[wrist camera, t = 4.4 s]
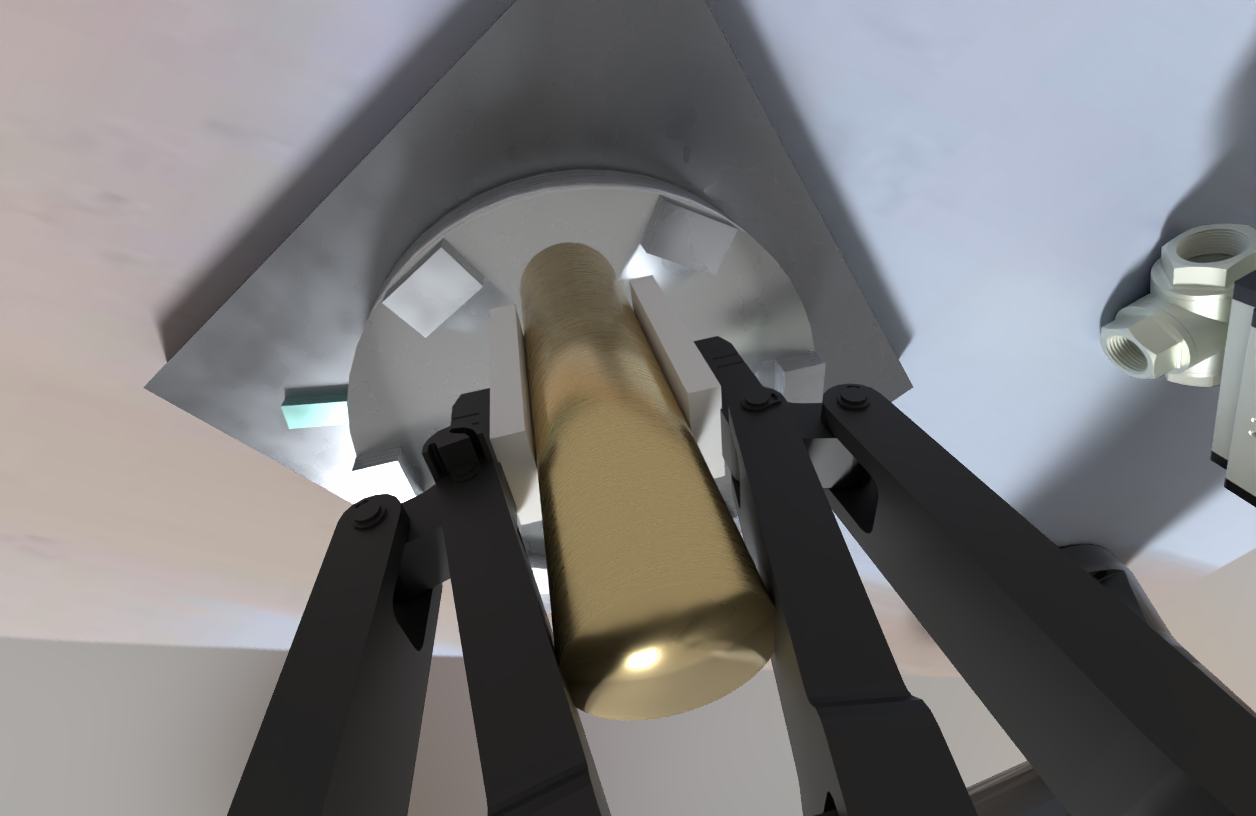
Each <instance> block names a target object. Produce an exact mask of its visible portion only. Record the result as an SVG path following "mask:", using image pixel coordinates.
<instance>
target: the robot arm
mask: <svg viewBox="0 0 1256 816" xmlns="http://www.w3.org/2000/svg"><path fill="white" fill-rule="evenodd" d="M629 284H630V291H631V298H632V305H633V311H634V313H635V315H636V317H637V319H638V321H639V324H640V326H641V328H642V330H643V332H644V334H645V336H646V338H647V340H648V342H649V344H650V347H651V349H652V351H653V353H654V355H655V357H656V359H657V361H658V363H659V365H660V367H661V370H662V372H663V374H664V376H665V378H666V380H667V382H668V384H669V386H670V388H671V390H672V392H673V395H674V397H675V399H676V401H677V403H678V405H679V407H680V409H681V411H682V413H683V415H684V418H685V420H686V422H687V424H688V426H689V428H690V430H691V432H692V434H693V436H694V438H695V440H696V443H697V445H698V447H699V449H700V451H701V453H702V455H703V457H704V459H705V461H706V463H707V466H708V468H709V470H710V472H711V474H712V476H713V478H718V477H722V476H725V466H724V460H725V462H726V464H727V466H728V468H729V470H730V472H731V491H732V509H737V514H738V518H739V522H740V527H741V531H742V535H743V540H744V543H745V545H746V547H747V549H748V551H749V553H750V555H751V557H752V559H753V562H754V564H755V566H756V568H757V570H758V572H759V574H760V576H761V578H762V580H763V582H764V585H765V587H766V589H767V591H768V593H769V595H770V597H771V599H772V601H773V604H774V606H775V609H776V617H775V645H774V653H773V655H772V656H771V661H772V666H773V670H774V674H775V679H776V683H777V687H778V691H779V696H780V700H781V705H782V709H783V713H784V718H785V722H786V726H787V730H788V735H789V739H790V744H791V747H792V752H793V757H794V761H795V765H796V769H797V774H798V780H799V786H800V794H801V802H802V810H803V816H1256V713H1255V712H1254V711H1253V710H1252V709H1251V708H1250V707H1249V706H1248V705H1246V704H1245V703H1244V702H1243V701H1242V700H1241V699H1240V698H1239V697H1238V696H1236V695H1235V694H1234V693H1233V692H1232V691H1231V690H1230V689H1229V688H1228V687H1227V686H1225V685H1224V684H1223V683H1222V682H1221V681H1220V680H1219V679H1218V678H1217V677H1216V676H1214V675H1213V674H1212V673H1211V672H1210V671H1209V670H1208V669H1207V668H1206V667H1204V666H1203V665H1202V664H1201V663H1200V662H1199V661H1198V660H1196V659H1195V658H1194V657H1193V656H1192V655H1191V654H1190V653H1189V652H1188V651H1187V650H1185V649H1184V648H1183V647H1182V646H1181V645H1180V644H1179V643H1178V642H1177V641H1176V640H1175V639H1174V637H1173V636H1172V635H1171V633H1170V632H1169V630H1168V629H1167V627H1166V625H1165V624H1164V622H1163V621H1162V619H1161V618H1160V616H1159V614H1158V613H1157V611H1156V610H1155V608H1154V606H1153V605H1152V603H1151V602H1150V600H1149V598H1148V597H1147V595H1146V594H1145V592H1144V590H1143V589H1142V587H1141V586H1140V584H1139V582H1138V581H1137V579H1136V578H1135V576H1134V575H1133V573H1132V572H1131V571H1130V570H1129V568H1128V567H1127V566H1125V565H1124V564H1123V563H1122V562H1121V561H1120V560H1119V559H1117V558H1116V557H1115V556H1114V555H1113V554H1112V553H1111V552H1109V551H1108V550H1107V549H1105V548H1103V547H1100V546H1096V545H1076V546H1070V547H1065V548H1061V549H1060V548H1059V547H1057V546H1056V545H1055V544H1054V543H1053V542H1052V541H1050V540H1049V539H1048V538H1047V537H1046V536H1045V535H1044V534H1042V533H1041V532H1040V531H1039V530H1038V529H1037V528H1035V527H1034V526H1033V525H1032V524H1031V523H1030V522H1029V521H1027V520H1026V519H1025V518H1024V517H1023V516H1022V515H1020V514H1019V513H1018V512H1017V511H1016V510H1015V509H1013V508H1012V507H1011V506H1010V505H1009V504H1008V503H1007V502H1005V501H1004V500H1003V499H1002V498H1001V497H1000V496H998V495H997V494H996V493H995V492H994V491H993V490H992V489H990V488H989V487H988V486H987V485H986V484H985V483H983V482H982V481H981V480H980V479H979V478H978V477H977V476H975V475H974V474H973V473H972V472H971V471H970V470H968V469H967V468H966V467H965V466H964V465H963V464H961V463H960V462H959V461H958V460H957V459H956V458H955V457H953V456H952V455H951V454H950V453H949V452H948V451H946V450H945V449H944V448H943V447H942V446H941V445H940V444H938V443H937V442H936V441H935V440H934V439H933V438H931V437H930V436H929V435H928V434H927V433H926V432H925V431H923V430H922V429H921V428H920V427H919V426H918V425H916V424H915V423H914V422H913V421H912V420H911V419H909V418H908V417H907V416H906V415H905V414H904V413H903V412H901V411H900V410H899V409H898V408H897V407H896V406H894V405H893V404H892V403H891V402H890V401H889V400H888V399H886V398H885V397H884V396H883V395H882V394H881V393H879V392H878V391H876V390H874V389H873V388H871V387H867V386H864V385H861V384H849V383H848V384H841V385H836V386H834V387H832V388H829V389H828V390H827V391H826V392H825V393H824V394H823V399H822V403H791V402H787V401H786V399H785V398H784V396H783V395H782V394H781V393H780V392H778V391H776V390H774V389H771V388H767V387H763V386H762V384H761V383H760V382H759V380H758V379H757V378H756V376H755V375H754V373H753V372H752V371H751V369H750V368H749V367H748V365H747V364H746V363H744V360H743V358H742V357H741V356H740V355H739V354H738V352H737V350H736V349H735V348H734V346H733V345H732V343H730V342H728V341H727V340H725V339H723V338H721V337H719V336H715V337H710V338H706V339H701V340H697V341H693V340H692V338H691V337H690V335H689V333H688V332H687V330H686V329H685V327H684V325H683V324H682V322H681V321H680V319H679V317H678V316H677V314H676V312H675V311H674V309H673V308H672V306H671V304H670V303H669V301H668V299H667V298H666V296H665V295H664V293H663V291H662V290H661V288H660V287H659V285H658V283H657V282H656V280H655V278H654V277H653V275H650V276H645V277H641V278H636V279H631V280H629ZM451 420H452V421H451V424H450V426H449V427H446V428H444V429H442V430H440V431H438V432H436V433H435V434H434V435H432V436H431V437H430V438H429V439H428V440H427V441H426V443H425V444H424V445H423V449H422V455H423V458H424V460H425V462H426V464H427V466H428V468H429V470H430V472H431V475H432V477H433V479H434V481H435V484H434V485H433V486H432V487H430V488H429V489H428V490H426V491H424V492H423V493H421V494H419V495H417V496H415V497H413V498H411V499H408V500H406V501H404V502H402V503H401V502H400V500H399V499H398V498H397V497H396V496H394V495H391V494H388V493H387V494H375V495H372V496H369V497H366V498H364V499H362V500H360V501H358V502H357V503H355V504H353V505H352V506H351V507H350V508H349V509H348V510H346V511H345V512H344V513H343V515H342V516H341V518H340V520H339V521H338V523H337V526H336V529H335V531H334V534H333V536H332V539H331V542H330V544H329V547H328V550H327V552H326V555H325V558H324V560H323V563H322V566H321V568H320V571H319V574H318V576H317V579H316V581H315V584H314V587H313V589H312V592H311V595H310V597H309V600H308V603H307V605H306V608H305V611H304V613H303V616H302V618H301V621H300V624H299V626H298V629H297V632H296V634H295V637H294V640H293V642H292V645H291V648H290V650H289V653H288V656H287V658H286V661H285V664H284V666H283V669H282V672H281V674H280V677H279V679H278V682H277V685H276V688H275V690H274V693H273V695H272V698H271V700H270V703H269V706H268V708H267V711H266V714H265V716H264V719H263V722H262V724H261V727H260V730H259V732H258V735H257V738H256V740H255V743H254V746H253V748H252V751H251V754H250V756H249V759H248V762H247V764H246V767H245V770H244V772H243V775H242V777H241V780H240V782H239V785H238V788H237V791H236V793H235V796H234V798H233V801H232V804H231V806H230V809H229V812H228V814H227V816H407V814H408V806H409V801H410V794H411V788H412V781H413V775H414V768H415V761H416V755H417V749H418V742H419V736H420V729H421V723H422V716H423V710H424V703H425V697H426V691H427V684H428V677H429V671H430V665H431V658H432V652H433V645H434V639H435V632H436V626H437V619H438V613H439V606H440V600H441V593H442V582H444V581H446V580H448V579H450V578H451V583H452V590H453V596H454V602H455V608H456V614H457V620H458V626H459V633H460V639H461V645H462V651H463V657H464V663H465V669H466V675H467V681H468V687H469V694H470V700H471V706H472V712H473V718H474V724H475V730H476V737H477V743H478V749H479V755H480V761H481V767H482V773H483V780H484V786H485V792H486V798H487V806H488V816H611V814H610V810H609V807H608V804H607V801H606V798H605V795H604V792H603V789H602V786H601V782H600V779H599V776H598V773H597V770H596V767H595V764H594V760H593V757H592V754H591V751H590V748H589V745H588V742H587V739H586V735H585V732H584V729H583V726H582V723H581V720H580V717H579V714H578V711H577V707H575V705H574V703H573V700H572V698H571V695H570V693H569V690H568V688H567V685H566V683H565V680H564V677H563V675H562V672H561V670H560V667H559V664H558V661H557V657H556V653H555V646H554V636H553V632H552V629H551V626H550V623H549V620H548V617H547V614H546V610H545V607H544V604H543V601H542V598H541V595H540V592H539V589H538V585H537V582H536V579H535V576H534V573H533V570H532V567H531V564H530V560H529V557H528V554H527V551H526V548H525V545H524V542H523V539H522V536H521V533H520V531H519V528H518V525H517V515H518V517H519V520H520V523H521V525H524V524H529V523H533V522H537V521H541V520H542V514H541V503H540V493H539V483H538V473H537V463H536V453H535V442H534V432H533V422H532V412H531V402H530V392H529V381H528V371H527V361H526V351H525V341H524V335H523V331H522V327H521V324H520V320H519V317H518V313H517V310H516V306H515V304H513V305H508V306H503V307H498V308H494V309H491V315H490V388H487V389H482V390H478V391H473V392H469V393H464V394H461V395H460V396H459V398H458V399H457V401H456V402H455V404H454V405H453V406H452V414H451ZM832 510H833V511H834V513H835V514H836V515H837V517H838V518H839V519H840V520H841V522H842V523H843V524H844V525H845V527H846V528H847V529H848V531H849V532H850V533H851V534H852V536H853V537H854V538H855V540H856V541H857V542H858V543H859V545H860V546H861V547H862V549H863V550H864V551H865V552H866V554H867V555H868V556H869V558H870V559H871V560H872V561H873V563H874V564H875V565H876V567H877V568H878V569H879V570H880V572H881V573H882V574H883V576H884V577H885V578H886V579H887V581H888V582H889V583H890V584H891V586H892V587H893V588H894V590H895V591H896V592H897V593H898V595H899V596H900V597H901V599H902V600H903V601H904V602H905V604H906V605H907V606H908V608H909V609H910V610H911V611H912V613H913V614H914V615H915V617H916V618H917V619H918V620H919V622H920V623H921V624H922V626H923V627H924V628H925V629H926V631H927V632H928V633H929V635H930V636H931V637H932V638H933V640H934V641H935V642H936V643H937V645H938V646H939V647H940V649H941V650H942V651H943V652H944V654H945V655H946V656H947V658H948V659H949V660H950V661H951V663H952V664H953V665H954V667H955V668H956V669H957V670H958V672H959V673H960V674H961V676H962V677H963V678H964V679H965V681H966V682H967V683H968V684H969V686H970V687H971V688H972V690H973V691H974V692H975V694H976V695H977V696H978V697H979V699H980V700H981V701H982V702H983V704H984V705H985V706H986V707H987V709H988V710H989V711H990V713H991V714H992V715H993V716H994V718H995V719H996V720H997V722H998V723H999V724H1000V726H1001V727H1002V728H1003V729H1004V730H1005V732H1006V733H1007V735H1008V736H1009V737H1010V738H1011V740H1012V741H1013V742H1014V744H1015V745H1016V746H1017V747H1018V749H1019V750H1020V751H1021V752H1022V754H1023V755H1024V756H1025V757H1026V759H1027V760H1028V761H1026V762H1023V763H1021V764H1019V765H1017V766H1014V767H1012V768H1010V769H1008V770H1005V771H1003V772H1001V773H999V774H997V775H994V776H992V777H990V778H988V779H985V780H983V781H981V782H979V783H976V784H974V785H972V786H970V787H968V788H966V787H965V784H964V782H963V780H962V778H961V776H960V773H959V771H958V769H957V766H956V764H955V762H954V759H953V757H952V755H951V753H950V750H949V748H948V746H947V743H946V741H945V739H944V737H943V734H942V732H941V730H940V728H939V726H938V723H937V722H936V720H935V718H934V716H933V714H932V712H931V710H930V709H929V708H928V706H927V705H926V704H925V703H924V701H923V700H922V699H919V698H917V697H914V696H912V695H911V694H910V692H909V691H908V690H907V688H906V686H905V684H904V682H903V680H902V677H901V675H900V672H899V670H898V668H897V665H896V663H895V660H894V658H893V656H892V653H891V651H890V648H889V646H888V644H887V641H886V639H885V636H884V634H883V632H882V629H881V627H880V624H879V622H878V620H877V617H876V615H875V612H874V610H873V608H872V605H871V603H870V600H869V598H868V596H867V593H866V591H865V588H864V586H863V584H862V581H861V579H860V576H859V574H858V571H857V569H856V567H855V564H854V562H853V559H852V557H851V555H850V552H849V550H848V547H847V545H846V543H845V540H844V538H843V535H842V533H841V531H840V528H839V526H838V523H837V521H836V519H835V516H834V514H833V511H832Z"/></svg>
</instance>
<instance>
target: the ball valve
mask: <svg viewBox="0 0 1256 816" xmlns="http://www.w3.org/2000/svg"><path fill="white" fill-rule="evenodd" d="M1100 343H1101V347H1102V349H1103V351H1104V353H1105V355H1106V356H1107V357H1108V359H1109V360H1110V361H1111V362H1112V363H1113V364H1114V365H1115V366H1116V367H1117V368H1118V369H1120V370H1121V371H1122V372H1124V373H1126V374H1127V375H1129V376H1131V377H1134V378H1139V379H1157V378H1159V377H1161V376H1162V375H1165V377H1166V379H1167V380H1168V381H1171V382H1174V383H1179V384H1184V385H1190V386H1199V387H1214V386H1216V385H1219V384H1220V391H1219V399H1218V406H1217V413H1216V421H1215V428H1214V435H1213V443H1212V450H1211V457H1210V459H1211V460H1212V461H1213V462H1215V463H1216V464H1218V465H1220V466H1221V467H1223V468H1225V469H1226V470H1227V471H1226V477H1225V482H1224V487H1225V488H1226V489H1228V490H1230V491H1231V492H1233V493H1234V494H1236V495H1237V496H1239V497H1240V498H1242V499H1244V500H1245V501H1247V502H1248V503H1250V504H1251V505H1253V506H1254V507H1256V230H1255V229H1254V228H1253V227H1251V226H1250V225H1243V224H1210V225H1203V226H1198V227H1195V228H1192V229H1190V230H1188V231H1185V232H1183V233H1182V234H1180V235H1178V236H1176V237H1175V238H1173V239H1172V240H1170V241H1169V242H1168V243H1166V244H1165V245H1164V246H1162V249H1161V257H1160V258H1159V259H1158V260H1157V261H1156V262H1155V263H1154V265H1153V267H1152V269H1151V288H1150V293H1149V294H1147V295H1146V296H1144V297H1142V298H1140V299H1139V300H1137V301H1135V302H1133V303H1131V304H1130V305H1128V306H1126V307H1124V308H1123V309H1121V310H1120V311H1119V312H1118V313H1117V315H1116V317H1115V320H1114V321H1112V322H1110V323H1109V324H1107V325H1105V326H1103V327H1102V330H1101V334H1100Z"/></svg>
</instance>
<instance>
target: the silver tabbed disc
mask: <svg viewBox="0 0 1256 816" xmlns="http://www.w3.org/2000/svg"><path fill="white" fill-rule="evenodd" d="M650 275H653V277H654V278H655V280H656V282H657V283H658V285H659V287H660V288H661V290H662V291H663V293H664V295H665V296H666V298H667V299H668V301H669V303H670V304H671V306H672V308H673V309H674V311H675V312H676V314H677V316H678V317H679V319H680V321H681V322H682V324H683V325H684V327H685V329H686V330H687V332H688V333H689V335H690V337H691V338H692V340H693V341H697V340H701V339H706V338H710V337H715V336H719V337H721V338H723V339H725V340H727V341H728V342H730V343H732V345H733V346H734V348H735V349H736V350H737V352H738V354H739V355H740V356H741V357H742V358H743V360H744V363H746V364H747V365H748V367H749V368H750V369H751V371H752V372H753V373H754V375H755V376H756V378H757V379H758V380H759V382H760V383H761V384H762V386H763V387H767V388H771V389H774V390H776V391H778V392H780V393H781V394H782V395H783V396H784V398H785V399H786V401H787V402H791V403H822V399H823V388H824V376H825V365H826V363H825V362H824V361H823V360H822V359H821V358H820V356H819V355H818V354H817V353H816V352H815V350H814V344H813V337H812V331H811V327H810V324H809V321H808V317H807V314H806V311H805V308H804V305H803V303H802V301H801V299H800V297H799V295H798V293H797V291H796V289H795V287H794V286H793V284H792V282H791V280H790V279H789V277H788V276H787V275H786V273H785V272H784V271H783V269H782V268H781V267H780V265H779V264H778V263H777V261H776V260H775V259H774V258H773V257H772V256H771V255H770V254H769V253H768V252H767V251H766V250H765V249H764V248H763V247H762V246H761V245H760V244H759V243H758V242H757V241H756V240H755V239H754V238H753V237H751V236H750V235H749V234H748V233H747V232H745V231H744V230H743V229H742V228H741V227H740V226H738V225H737V224H736V223H735V222H734V221H733V220H731V219H730V218H729V217H728V216H727V215H725V214H724V213H723V212H721V211H720V210H718V209H717V208H715V207H714V206H712V205H711V204H710V203H708V202H707V201H705V200H704V199H702V198H701V197H699V196H696V195H694V194H692V193H690V192H688V191H686V190H684V189H682V188H680V187H678V186H676V185H674V184H671V183H667V182H664V181H661V180H658V179H655V178H652V177H648V176H645V175H641V174H634V173H628V172H622V171H616V170H601V169H573V170H565V171H556V172H548V173H541V174H537V175H534V176H530V177H526V178H522V179H519V180H515V181H511V182H508V183H505V184H503V185H501V186H498V187H496V188H494V189H491V190H489V191H487V192H484V193H482V194H479V195H477V196H475V197H474V198H472V199H470V200H469V201H467V202H465V203H464V204H462V205H460V206H459V207H457V208H455V209H454V210H452V211H450V212H449V213H447V214H446V215H445V216H443V217H442V218H441V219H440V220H438V221H437V222H436V223H435V224H434V225H432V226H431V227H430V228H429V229H428V230H426V231H425V232H424V233H423V234H422V235H421V236H420V237H419V238H418V239H417V240H416V241H415V242H414V243H413V244H412V246H411V247H410V248H409V249H408V250H407V251H406V252H405V253H404V254H403V256H402V257H401V258H400V259H399V261H398V262H397V264H396V265H395V267H394V268H393V270H392V271H391V273H390V274H389V276H388V278H387V279H386V281H385V282H384V284H383V286H382V288H381V290H380V292H379V295H378V297H377V299H376V301H375V304H374V306H373V308H372V310H371V313H370V315H369V318H368V320H367V322H366V325H365V327H364V330H363V332H362V335H361V337H360V339H359V342H358V344H357V347H356V351H355V355H354V359H353V363H352V367H351V371H350V374H349V385H348V398H347V409H348V419H349V429H350V435H351V438H352V442H353V445H354V449H355V453H356V458H355V462H354V465H353V468H352V471H351V472H352V474H353V475H354V477H355V479H356V481H357V482H358V484H359V486H360V487H361V489H362V491H363V493H364V494H365V496H366V497H369V496H372V495H375V494H387V493H388V494H391V495H394V496H396V497H397V498H398V499H399V500H400V502H401V503H402V502H404V501H406V500H408V499H411V498H413V497H415V496H417V495H419V494H421V493H423V492H424V491H426V490H428V489H429V488H430V487H432V486H433V485H434V484H435V481H434V479H433V477H432V475H431V472H430V470H429V468H428V466H427V464H426V462H425V460H424V458H423V455H422V449H423V445H424V444H425V443H426V441H427V440H428V439H429V438H430V437H431V436H432V435H434V434H435V433H436V432H438V431H440V430H442V429H444V428H446V427H449V426H450V424H451V421H452V420H451V414H452V406H453V405H454V404H455V402H456V401H457V399H458V398H459V396H460V395H461V394H464V393H469V392H473V391H478V390H482V389H487V388H490V315H491V309H494V308H498V307H503V306H508V305H513V304H515V306H516V310H517V313H518V317H519V320H520V324H521V327H522V331H523V335H524V341H525V351H526V361H527V371H528V381H529V392H530V402H531V412H532V422H533V432H534V442H535V453H536V463H537V473H538V483H539V493H540V503H541V514H542V520H541V521H537V522H533V523H529V524H524V525H521V523H520V520H519V517H518V515H517V525H518V528H519V531H520V533H521V536H522V539H523V542H524V545H525V548H526V551H527V554H528V557H529V560H530V564H531V567H532V570H533V573H534V576H535V579H536V582H537V585H538V589H539V592H540V593H542V594H549V595H550V605H551V615H552V625H553V636H554V646H555V653H556V657H557V661H558V664H559V667H560V670H561V672H562V675H563V677H564V680H565V683H566V685H567V688H568V690H569V693H570V695H571V698H572V700H573V703H574V705H575V707H577V708H578V709H580V710H582V711H584V712H586V713H589V714H591V715H594V716H598V717H602V718H607V719H615V720H648V719H656V718H662V717H668V716H672V715H676V714H680V713H683V712H687V711H690V710H694V709H696V708H699V707H702V706H704V705H707V704H709V703H711V702H713V701H715V700H718V699H720V698H722V697H723V696H725V695H727V694H729V693H731V692H732V691H734V690H736V689H737V688H739V687H740V686H742V685H743V684H744V683H746V682H747V681H748V680H750V679H751V678H752V677H753V676H754V675H755V674H756V673H757V672H759V671H760V670H761V669H762V668H763V667H764V665H765V664H766V663H767V662H768V661H769V659H770V658H771V656H772V655H773V653H774V645H775V617H776V609H775V606H774V604H773V601H772V599H771V597H770V595H769V593H768V591H767V589H766V587H765V585H764V582H763V580H762V578H761V576H760V574H759V572H758V570H757V568H756V566H755V564H754V562H753V559H752V557H751V555H750V553H749V551H748V549H747V547H746V545H745V543H744V541H743V539H742V537H741V534H740V533H741V532H742V531H741V527H740V522H739V520H738V518H737V516H738V514H737V509H732V491H731V472H730V470H729V468H728V466H727V464H726V462H725V460H724V466H725V476H722V477H718V478H713V476H712V474H711V472H710V470H709V468H708V466H707V463H706V461H705V459H704V457H703V455H702V453H701V451H700V449H699V447H698V445H697V443H696V440H695V438H694V436H693V434H692V432H691V430H690V428H689V426H688V424H687V422H686V420H685V418H684V415H683V413H682V411H681V409H680V407H679V405H678V403H677V401H676V399H675V397H674V395H673V392H672V390H671V388H670V386H669V384H668V382H667V380H666V378H665V376H664V374H663V372H662V370H661V367H660V365H659V363H658V361H657V359H656V357H655V355H654V353H653V351H652V349H651V347H650V344H649V342H648V340H647V338H646V336H645V334H644V332H643V330H642V328H641V326H640V324H639V321H638V319H637V317H636V315H635V313H634V311H633V305H632V298H631V291H630V284H629V280H631V279H636V278H641V277H645V276H650Z"/></svg>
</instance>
